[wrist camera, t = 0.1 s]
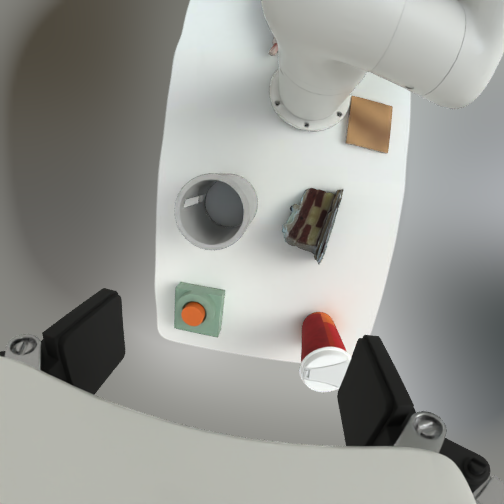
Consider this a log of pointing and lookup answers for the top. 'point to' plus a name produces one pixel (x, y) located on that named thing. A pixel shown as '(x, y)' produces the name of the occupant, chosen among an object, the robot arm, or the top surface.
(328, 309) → the top surface
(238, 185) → the cup
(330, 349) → the paper cup
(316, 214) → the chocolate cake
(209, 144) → the top surface
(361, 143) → the cork trivet
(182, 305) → the button base
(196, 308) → the power button
